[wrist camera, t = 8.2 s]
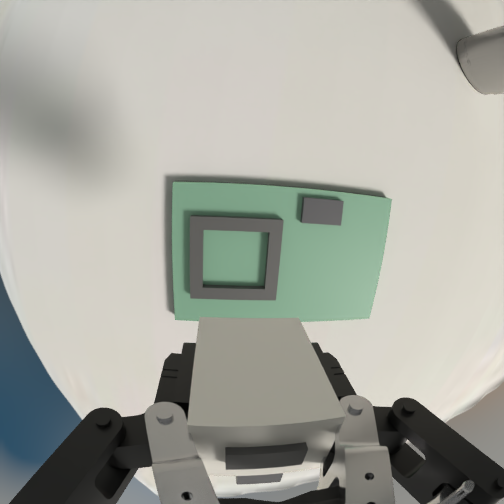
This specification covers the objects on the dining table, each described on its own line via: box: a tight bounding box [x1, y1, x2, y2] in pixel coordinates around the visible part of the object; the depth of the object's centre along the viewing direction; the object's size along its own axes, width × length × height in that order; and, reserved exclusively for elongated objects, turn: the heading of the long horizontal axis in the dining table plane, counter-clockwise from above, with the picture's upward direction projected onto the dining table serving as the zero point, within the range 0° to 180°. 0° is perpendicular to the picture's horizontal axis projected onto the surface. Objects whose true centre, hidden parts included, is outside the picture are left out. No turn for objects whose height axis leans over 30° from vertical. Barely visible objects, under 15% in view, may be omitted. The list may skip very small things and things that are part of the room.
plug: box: [187, 317, 346, 484], centre depth 10 cm, size 4×4×6 cm
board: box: [172, 182, 392, 322], centre depth 27 cm, size 22×14×2 cm, turn 86°
